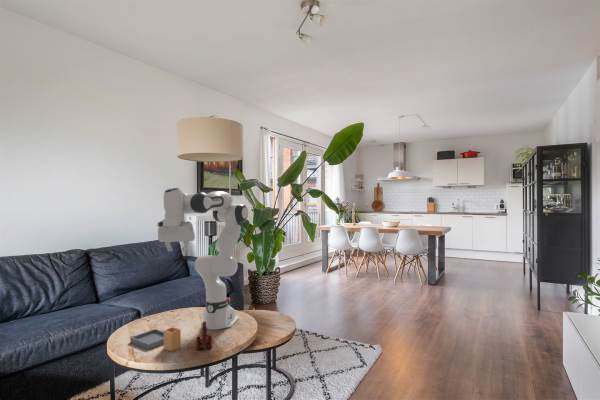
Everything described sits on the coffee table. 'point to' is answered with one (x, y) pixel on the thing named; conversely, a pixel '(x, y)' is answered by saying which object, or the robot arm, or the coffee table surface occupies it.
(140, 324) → the coffee table surface
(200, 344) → the toy fire truck
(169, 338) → the box
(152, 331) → the tray
